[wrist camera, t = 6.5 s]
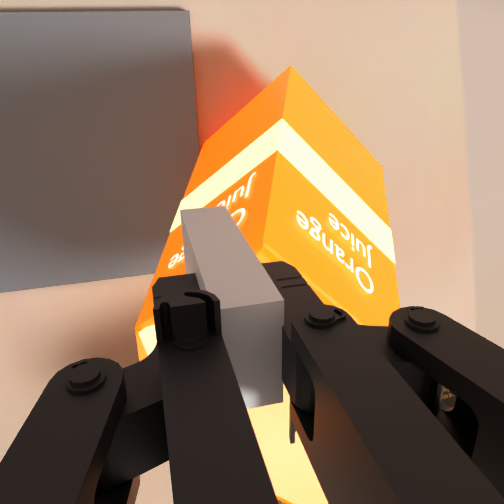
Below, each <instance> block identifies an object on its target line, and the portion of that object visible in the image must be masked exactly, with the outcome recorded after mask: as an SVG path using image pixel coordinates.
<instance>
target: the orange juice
mask: <svg viewBox="0 0 504 504" xmlns="http://www.w3.org/2000/svg"><path fill="white" fill-rule="evenodd" d="M216 206H225V207H226V208H227V210H228V211H229V213H230V215H231V216H232V218H233V219H234V221H235V223H236V224H237V226H238V227H239V229H240V231H241V232H242V234H243V235H244V237H245V238H246V240H247V242H248V243H249V245H250V246H251V248H252V250H253V251H254V253H255V254H256V256H257V258H258V259H259V261H260V262H261V263H268V262H276V261H284V262H286V263H288V264H290V265H292V266H294V267H296V269H297V270H298V271H299V272H300V274H301V275H302V278H304V279H305V280H306V282H307V283H308V285H310V287H311V288H312V289H313V291H314V292H315V293H316V294H317V296H318V297H319V298H320V300H321V301H322V302H323V303H324V304H327V305H333V306H336V307H338V308H341V309H343V310H344V311H346V312H347V313H348V314H349V315H350V316H351V317H352V318H353V319H354V320H355V322H356V323H357V324H359V325H371V326H388V324H389V317H390V315H391V313H392V312H393V311H395V310H397V309H399V308H400V303H399V295H398V287H397V279H396V272H395V264H396V263H395V256H394V248H393V240H392V233H391V229H390V225H389V218H388V210H387V202H386V194H385V187H384V179H383V171H382V166H381V165H380V164H379V163H378V162H377V161H376V159H375V158H374V157H373V156H372V155H371V154H370V153H369V152H368V150H367V149H366V148H365V147H364V146H363V145H362V144H361V143H360V142H359V140H358V139H357V138H356V137H355V136H354V135H353V134H352V133H351V132H350V130H349V129H348V128H347V127H346V126H345V125H344V124H343V123H342V122H341V120H340V119H339V118H338V117H337V116H336V115H335V114H334V113H333V112H332V110H331V109H330V108H329V107H328V106H327V105H326V104H325V103H324V102H323V100H322V99H321V98H320V97H319V96H318V95H317V94H316V93H315V91H314V90H313V89H312V88H311V87H310V86H309V85H308V84H307V83H306V81H305V80H304V79H303V78H302V77H301V76H300V75H299V74H298V73H297V71H296V70H295V69H294V68H293V67H292V66H289V67H288V68H287V69H286V70H285V71H284V72H283V73H282V74H280V75H279V76H278V77H277V78H276V79H275V80H274V81H273V82H271V83H270V84H269V85H268V86H267V87H266V88H265V89H264V90H263V91H261V92H260V93H259V94H258V95H257V96H256V97H255V98H254V99H252V100H251V101H250V102H249V103H248V104H247V105H246V106H245V107H243V108H242V109H241V110H240V111H239V112H238V113H237V114H236V115H234V116H233V117H232V118H231V119H230V120H229V121H228V122H227V123H226V124H224V125H223V126H222V127H221V128H220V129H219V130H218V131H217V132H215V133H214V134H213V135H212V136H211V137H210V138H209V139H208V140H206V141H205V142H204V144H203V146H202V149H201V152H200V154H199V157H198V160H197V162H196V165H195V168H194V171H193V173H192V176H191V179H190V181H189V184H188V187H187V189H186V192H185V195H184V197H183V200H181V202H180V205H179V208H178V210H177V213H176V216H175V218H174V221H173V224H172V226H171V229H170V235H169V237H168V240H167V243H166V245H165V248H164V251H163V253H162V256H161V259H160V262H159V264H158V267H157V270H156V272H155V275H154V278H153V280H152V283H151V286H150V288H149V291H148V294H147V296H146V299H145V302H144V304H143V307H142V310H141V312H140V315H139V318H138V320H137V323H136V326H135V333H136V340H137V347H138V354H139V361H141V360H143V359H144V358H146V357H147V356H148V355H149V354H150V353H151V352H152V351H153V350H154V348H155V346H156V343H157V340H156V332H155V324H154V316H153V307H154V305H153V295H152V286H153V285H154V283H155V282H156V280H157V279H158V278H159V277H166V276H174V275H182V274H186V272H185V260H184V249H183V237H182V226H181V214H180V210H184V209H195V208H205V207H216ZM289 408H290V396H289V394H288V392H287V390H286V388H285V385H284V383H283V402H282V403H277V404H271V405H266V406H261V407H256V408H251V409H247V411H248V414H249V417H250V420H251V423H252V426H253V429H254V432H255V435H256V438H257V441H258V444H259V447H260V450H261V453H262V456H263V459H264V462H265V464H266V467H267V470H268V473H269V476H270V479H271V482H272V485H273V488H274V491H275V494H276V497H277V499H278V500H280V501H282V502H284V503H286V504H328V502H327V499H326V497H325V495H324V493H323V490H322V488H321V486H320V484H319V481H318V479H317V477H316V475H315V472H314V470H313V468H312V465H311V463H310V461H309V459H308V456H307V454H306V452H305V450H304V447H303V445H302V443H301V440H300V438H299V436H298V434H297V431H296V432H295V443H293V444H290V439H289Z"/></svg>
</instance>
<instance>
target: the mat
mask: <svg viewBox="0 0 504 504" xmlns="http://www.w3.org/2000/svg"><path fill="white" fill-rule="evenodd" d="M198 157H199V141H198V127H197V113H196V99H195V85H194V71H193V56H192V42H191V28H190V14H189V11H78V12H0V293H3V292H11V291H19V290H27V289H35V288H43V287H51V286H59V285H67V284H74V283H82V282H90V281H98V280H106V279H114V278H122V277H130V276H138V275H146V274H154V273H155V272H156V270H157V267H158V264H159V262H160V259H161V256H162V253H163V251H164V248H165V245H166V243H167V240H168V237H169V235H170V229H171V226H172V224H173V221H174V218H175V216H176V213H177V210H178V208H179V205H180V202H181V200H183V197H184V195H185V192H186V189H187V187H188V184H189V181H190V179H191V176H192V173H193V171H194V168H195V165H196V162H197V160H198Z"/></svg>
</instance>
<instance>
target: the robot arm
mask: <svg viewBox="0 0 504 504" xmlns="http://www.w3.org/2000/svg"><path fill="white" fill-rule="evenodd" d="M180 214H181V226H182V237H183V249H184V260H185V272H186V274H182V275H174V276H166V277H159V278H158V279H157V280H156V282H155V283H154V285H153V286H152V295H153V305H154V307H153V316H154V324H155V332H156V340H157V343H156V346H155V348H154V350H153V351H152V352H151V353H150V354H149V355H148V356H147V357H146V358H144V359H143V360H141V361H139V362H137V363H135V364H133V365H131V366H128V367H126V368H123V369H122V368H121V367H120V365H119V363H116V362H114V361H112V360H110V359H105V358H91V359H83V360H80V361H78V362H75V363H72V364H69V365H68V366H66V367H65V368H63V369H61V370H60V371H58V372H57V373H56V374H55V375H54V376H53V378H52V379H51V380H50V381H49V383H48V384H47V386H46V388H45V389H44V391H43V393H42V394H41V396H40V398H39V399H38V401H37V403H36V404H35V406H34V408H33V409H32V411H31V413H30V414H29V416H28V418H27V419H26V421H25V423H24V424H23V426H22V428H21V429H20V431H19V433H18V434H17V436H16V438H15V439H14V441H13V443H12V444H11V446H10V448H9V449H8V451H7V453H6V454H5V456H4V458H3V459H2V461H1V463H0V504H135V500H136V496H137V492H138V488H139V484H140V475H141V474H143V473H145V472H147V471H149V470H151V469H153V468H154V467H156V466H158V465H160V464H162V463H164V462H166V461H168V460H169V463H170V473H171V482H172V492H173V502H174V504H279V503H278V500H277V497H276V494H275V491H274V488H273V485H272V482H271V479H270V476H269V473H268V470H267V467H266V464H265V462H264V459H263V456H262V453H261V450H260V447H259V444H258V441H257V438H256V435H255V432H254V429H253V426H252V423H251V420H250V417H249V414H248V411H247V409H251V408H256V407H261V406H266V405H271V404H277V403H282V402H283V383H284V385H285V388H286V390H287V392H288V394H289V396H290V408H289V439H290V444H293V443H295V432H296V431H297V434H298V436H299V438H300V440H301V443H302V445H303V447H304V450H305V452H306V454H307V456H308V459H309V461H310V463H311V465H312V468H313V470H314V472H315V475H316V477H317V479H318V481H319V484H320V486H321V488H322V490H323V493H324V495H325V497H326V499H327V502H328V504H504V349H503V348H501V347H499V346H498V345H496V344H494V343H493V342H491V341H489V340H487V339H486V338H484V337H482V336H480V335H479V334H477V333H475V332H473V331H472V330H470V329H468V328H467V327H465V326H463V325H461V324H460V323H458V322H456V321H454V320H453V319H451V318H449V317H447V316H446V315H444V314H442V313H439V312H437V311H435V310H432V309H428V308H424V307H419V306H416V307H415V306H410V307H404V308H399V309H397V310H395V311H393V312H392V313H391V315H390V317H389V324H388V326H371V325H359V324H357V323H356V322H355V320H354V319H353V318H352V317H351V316H350V315H349V314H348V313H347V312H346V311H344V310H343V309H341V308H338V307H336V306H333V305H327V304H324V303H323V302H322V301H321V300H320V298H319V297H318V296H317V294H316V293H315V292H314V291H313V289H312V288H311V287H310V285H308V283H307V282H306V280H305V279H304V278H302V275H301V274H300V272H299V271H298V270H297V269H296V267H294V266H292V265H290V264H288V263H286V262H284V261H276V262H268V263H261V262H260V261H259V259H258V258H257V256H256V254H255V253H254V251H253V250H252V248H251V246H250V245H249V243H248V242H247V240H246V238H245V237H244V235H243V234H242V232H241V231H240V229H239V227H238V226H237V224H236V223H235V221H234V219H233V218H232V216H231V215H230V213H229V211H228V210H227V208H226V207H225V206H216V207H205V208H195V209H184V210H180ZM444 387H445V388H447V389H448V390H449V391H451V392H452V393H453V394H455V395H456V401H455V406H454V408H453V407H450V406H448V405H446V404H445V403H444V402H442V396H443V391H444Z"/></svg>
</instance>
